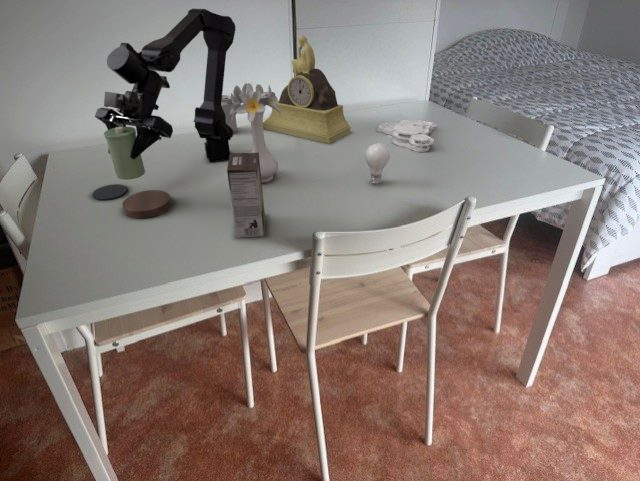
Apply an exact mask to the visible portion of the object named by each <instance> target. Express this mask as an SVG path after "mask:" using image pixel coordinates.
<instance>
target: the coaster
mask: <svg viewBox="0 0 640 481" xmlns="http://www.w3.org/2000/svg"><path fill="white" fill-rule="evenodd" d="M127 192H128V187H127V186H125V185H123V184H108V185H104V186H100V187H99V188H96V189H95V190H94V191H93V192H92V198H93V199H94V200H97V201H111V200H115V199H119V198H120V197H122V196H125V194H127Z"/></svg>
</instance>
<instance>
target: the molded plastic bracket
mask: <svg viewBox="0 0 640 481" xmlns="http://www.w3.org/2000/svg"><path fill="white" fill-rule="evenodd" d="M436 129H437V124H435V122H431V121H427V120H420V119H418V120H409V119H402V120H398V121H396V122H395V123H391V122H385V121H384V122H383V123H381V124H379V125H378V126H377V127H376V130H375V131H376V132H379V133H382V134H386V135H389V136H393V137H392V143H393V144H395V145H396V146H399V147H402V148H406V149H409V150H412V151H414V152H418V153H424V152H425V153H426V152H428V151H430V147H431V145H433V144H434V143H435V139H434V138H433V137H431V136H430V135H429V134H430V133H432V132H433V131H434V130H436Z"/></svg>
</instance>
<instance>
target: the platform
mask: <svg viewBox="0 0 640 481" xmlns="http://www.w3.org/2000/svg"><path fill="white" fill-rule="evenodd" d="M171 207H172V199H171V195H170V193H168V192H166V191H164V190H159V189H151V190H142V191H139V192H135V193H133V194H131V195H128V197H126V198H125V199H124V200H123V202H122V208H123V212H124V214H125V215H126V216H127V217H128V218H129V217H130V218H133V219H151V218H154V217H158V216H160V215H163V214H164V213H166V212H167V211H169V210H170V209H171Z"/></svg>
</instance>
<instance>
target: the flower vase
mask: <svg viewBox="0 0 640 481" xmlns="http://www.w3.org/2000/svg"><path fill="white" fill-rule="evenodd" d="M267 89H268V90H267V91H264V88H263V86H262V85H261V84H259V83H257V84H256V85H255V91H254V87H253V85H252V84H251V83H249V82H248V83H247V82H245V83H244V84H243V86H242V88H240V86H239V85H235V86H234V88H233V93H232V92H231V93H230V96H231V99H229V100H228V101H227V104H234V105H233V106H232V107H231V108H230V115H231V114H233V115H232V120H231V122H232V121H233V119H234V117H235V115H236V116H237V115H244V114H247V115H246V116H247V121H248V123H250V127H251V139H252V140H251V142H252V148H251V150H250V151H251V152H250V153H258V152H259V161H260V171H261V181H262V184H264V183H268V182H271V181H272V180H273V179H274V176H275V175H276V173H277V172H278V170H279V164H278V161H277V159H275V157H274V156H272V155H271V154H270V152H269V150H268V148H267V146H266V140H265V134H264V129H263V122H264V114H265V111H266V110H267V109H266V106H268V107H269V108H273V109H275V110H276V111H278V112H280V113H281V114H282V111H281V110H280V108H279V107H278V106H277V105H274V104H277V102H278V101H279V100H278V96H276V93H275V91H272V88H271V86H270V84H268V88H267Z"/></svg>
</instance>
